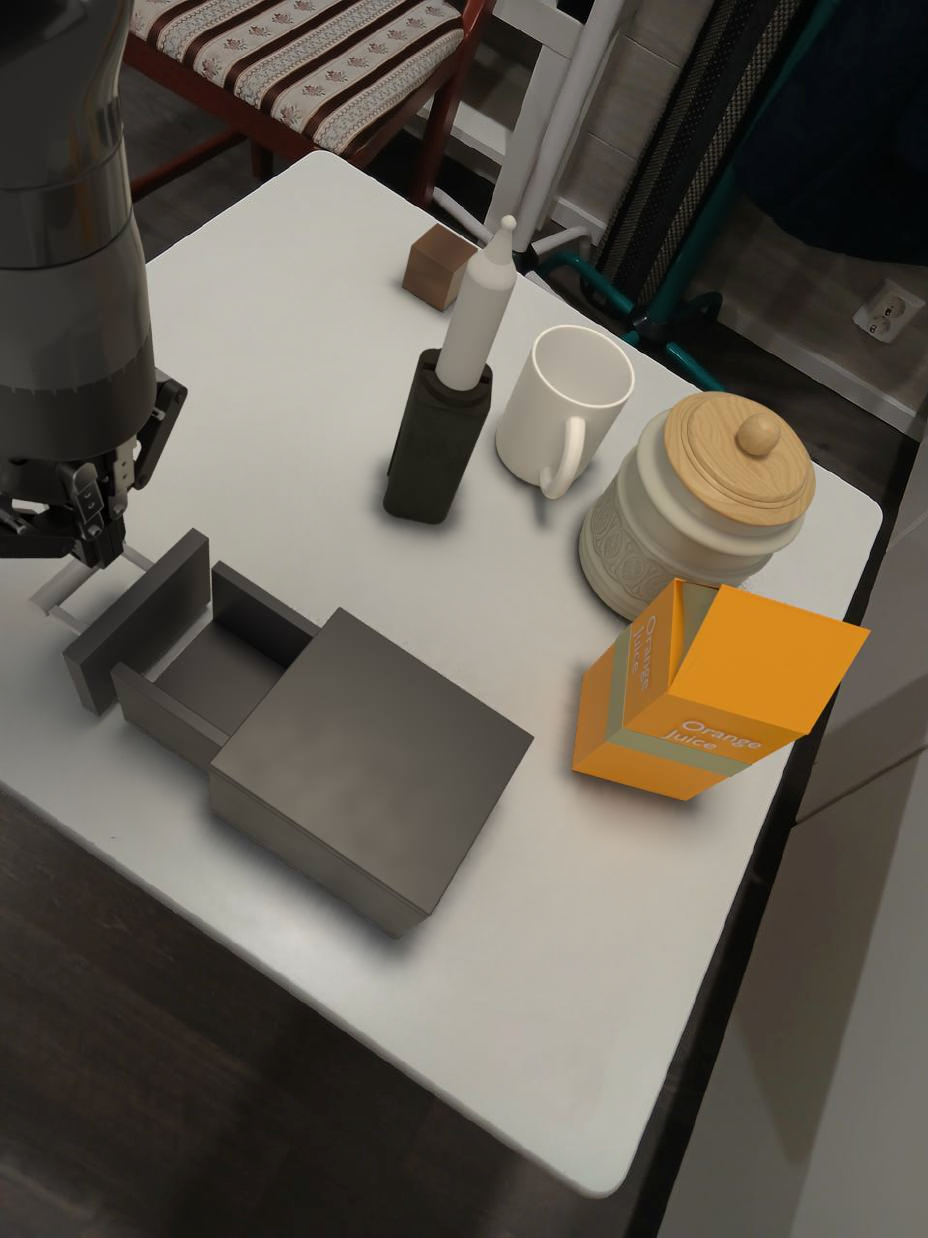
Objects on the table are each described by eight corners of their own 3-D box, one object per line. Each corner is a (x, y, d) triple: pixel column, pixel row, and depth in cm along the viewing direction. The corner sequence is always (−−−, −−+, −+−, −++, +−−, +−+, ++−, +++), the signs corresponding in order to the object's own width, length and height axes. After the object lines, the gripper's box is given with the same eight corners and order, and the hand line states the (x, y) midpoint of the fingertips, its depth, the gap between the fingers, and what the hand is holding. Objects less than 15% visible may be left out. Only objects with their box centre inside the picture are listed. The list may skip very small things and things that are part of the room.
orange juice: (582, 673, 61) (722, 523, 43) (691, 705, 62) (868, 571, 45) (570, 772, 57) (718, 650, 40) (686, 804, 58) (879, 698, 41)
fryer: (211, 811, 49) (207, 763, 41) (322, 672, 55) (339, 605, 47) (396, 939, 49) (430, 916, 40) (489, 784, 55) (535, 736, 46)
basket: (18, 662, 50) (-14, 601, 43) (137, 550, 55) (125, 481, 48) (251, 823, 49) (255, 786, 42) (349, 694, 54) (367, 643, 48)
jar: (733, 640, 66) (885, 516, 51) (583, 628, 62) (697, 492, 47) (704, 507, 72) (831, 361, 57) (566, 490, 68) (662, 331, 53)
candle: (445, 527, 64) (555, 260, 42) (381, 514, 63) (461, 234, 41) (450, 475, 66) (556, 199, 45) (388, 462, 65) (467, 173, 44)
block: (401, 286, 75) (410, 244, 71) (426, 263, 77) (437, 221, 73) (441, 312, 75) (453, 272, 71) (466, 288, 77) (478, 248, 73)
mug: (585, 536, 67) (640, 457, 58) (488, 516, 65) (529, 432, 56) (583, 425, 73) (633, 338, 64) (494, 405, 71) (532, 313, 62)
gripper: (89, 172, 33) (129, 443, 48) (-213, 342, 26) (-57, 597, 41) (240, 272, 33) (233, 514, 48) (-26, 470, 26) (63, 681, 41)
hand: (98, 552), depth 44 cm, fingers closed
